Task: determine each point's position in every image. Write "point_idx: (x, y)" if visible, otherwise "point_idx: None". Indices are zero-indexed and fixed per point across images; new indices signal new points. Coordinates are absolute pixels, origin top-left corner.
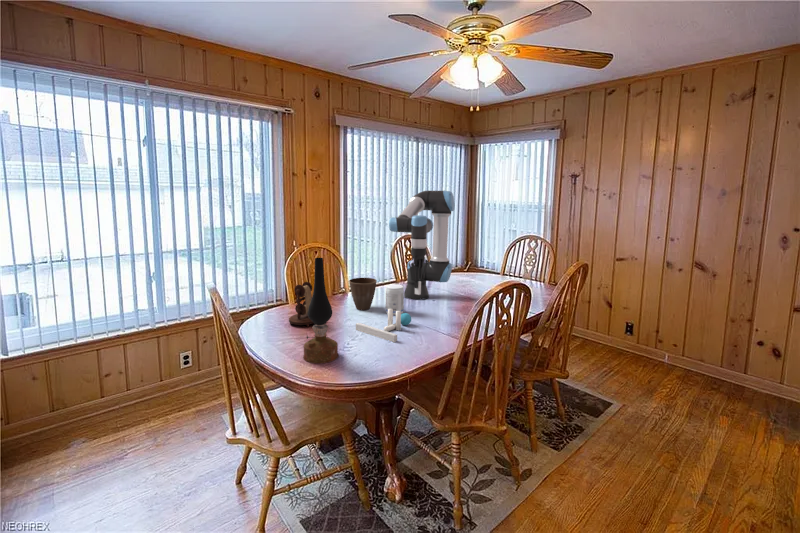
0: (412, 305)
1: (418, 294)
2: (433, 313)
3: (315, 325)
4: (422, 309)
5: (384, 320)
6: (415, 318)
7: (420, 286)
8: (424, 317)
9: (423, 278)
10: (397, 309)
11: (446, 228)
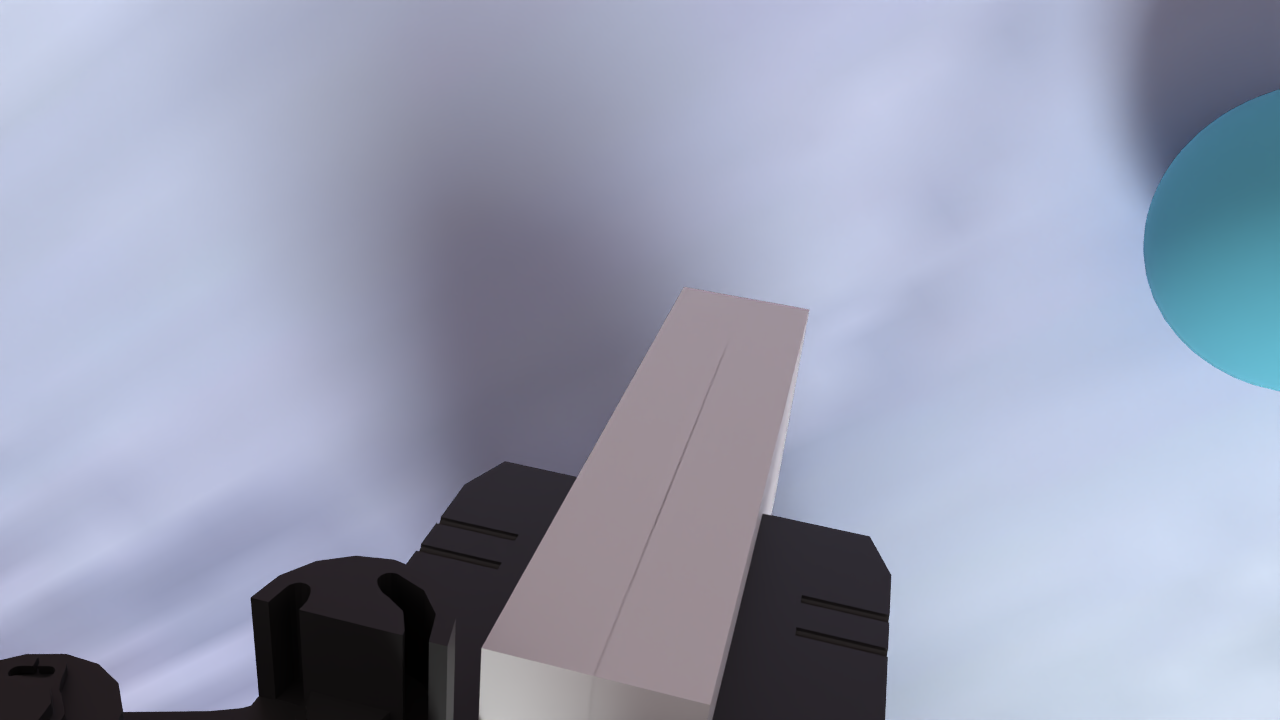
0: (157, 593)
1: (803, 335)
2: (232, 93)
3: None
4: (197, 376)
5: (1165, 644)
6: (722, 233)
7: (632, 466)
8: (555, 113)
9: (62, 717)
10: None
11: None
